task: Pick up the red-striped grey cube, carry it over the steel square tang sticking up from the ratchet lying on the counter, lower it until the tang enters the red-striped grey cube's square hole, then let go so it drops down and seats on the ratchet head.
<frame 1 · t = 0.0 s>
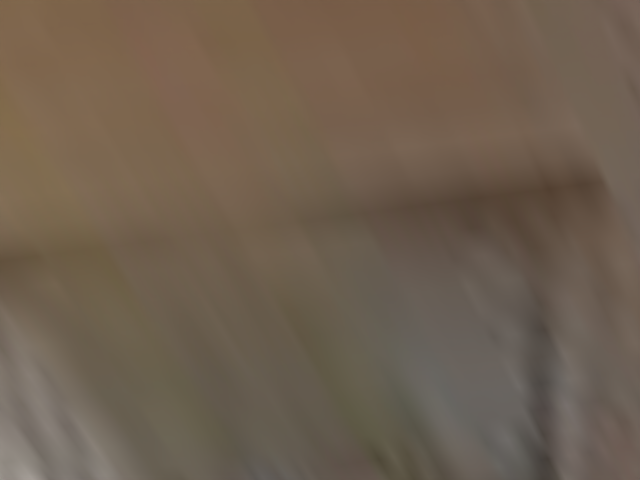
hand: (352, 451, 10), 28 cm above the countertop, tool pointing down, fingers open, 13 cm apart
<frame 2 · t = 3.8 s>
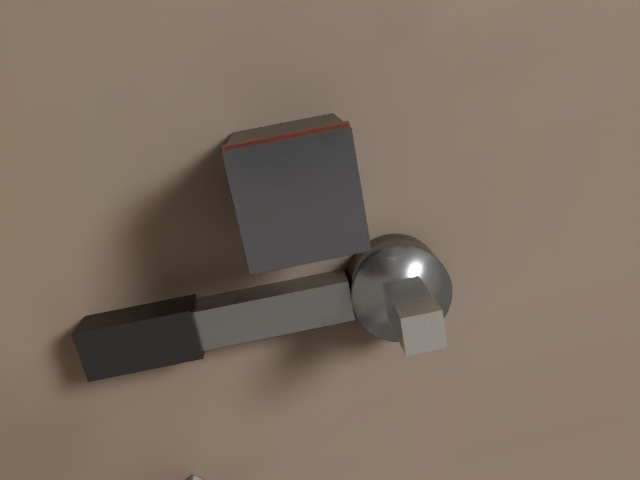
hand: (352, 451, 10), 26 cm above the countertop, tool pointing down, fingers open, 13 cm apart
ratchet: (392, 278, 38), on the countertop
red-striped grey cube: (292, 172, 35), on the countertop
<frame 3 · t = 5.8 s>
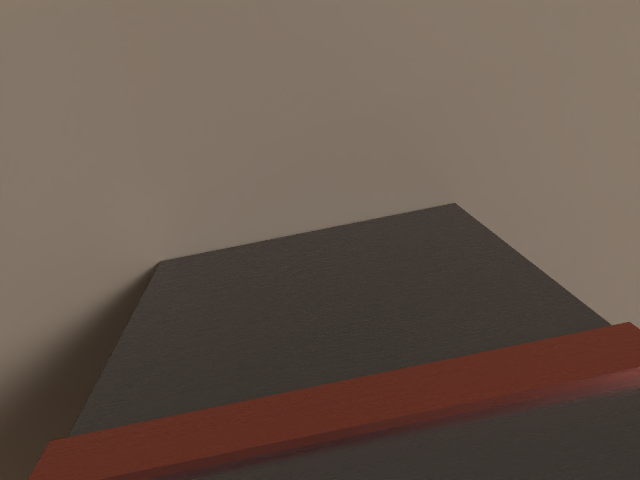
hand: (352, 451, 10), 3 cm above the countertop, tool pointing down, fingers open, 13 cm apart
red-striped grey cube: (334, 362, 13), on the countertop
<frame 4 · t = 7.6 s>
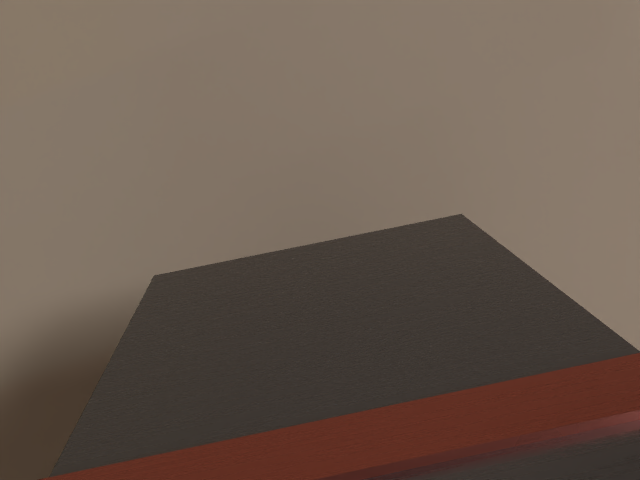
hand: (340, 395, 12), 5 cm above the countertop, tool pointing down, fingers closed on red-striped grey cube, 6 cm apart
red-striped grey cube: (335, 380, 12), point 4 cm above the countertop, touching gripper
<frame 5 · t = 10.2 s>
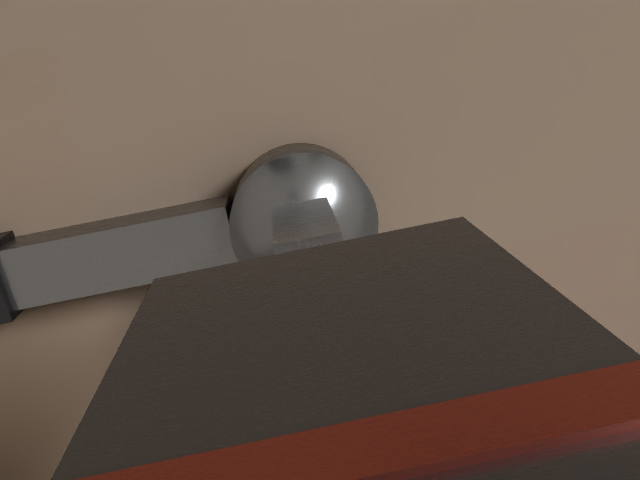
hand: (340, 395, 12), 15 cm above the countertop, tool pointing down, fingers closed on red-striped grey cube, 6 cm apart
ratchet: (300, 210, 26), on the countertop
red-striped grey cube: (336, 383, 12), point 15 cm above the countertop, touching gripper
when the fingers open (6 cm above the countertop, at t = 12.9 s): red-striped grey cube drops 3 cm, resting on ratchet.
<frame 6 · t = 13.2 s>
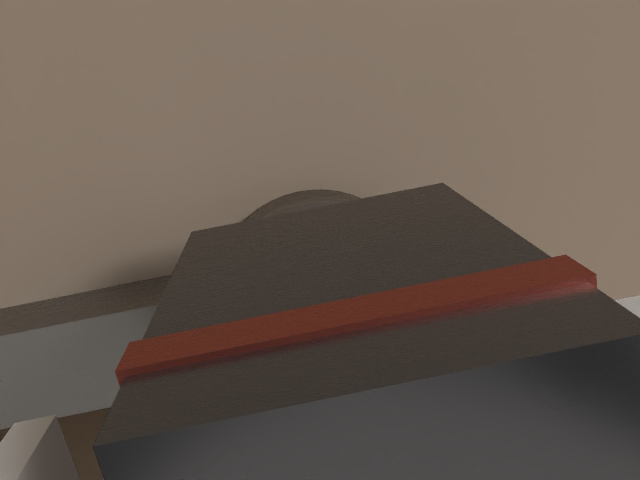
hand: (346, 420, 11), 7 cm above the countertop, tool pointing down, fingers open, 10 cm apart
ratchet: (317, 288, 17), on the countertop, touching red-striped grey cube
red-striped grey cube: (339, 321, 15), point 3 cm above the countertop, touching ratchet
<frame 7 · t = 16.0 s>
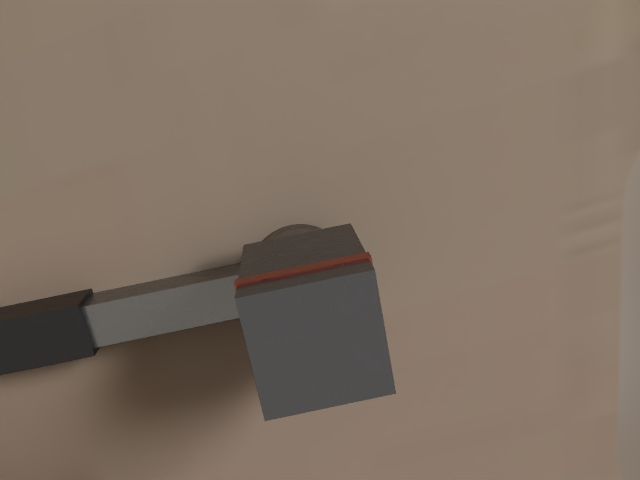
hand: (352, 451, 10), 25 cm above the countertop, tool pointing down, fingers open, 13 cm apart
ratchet: (299, 271, 36), on the countertop, touching red-striped grey cube
red-striped grey cube: (307, 284, 33), point 3 cm above the countertop, touching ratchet
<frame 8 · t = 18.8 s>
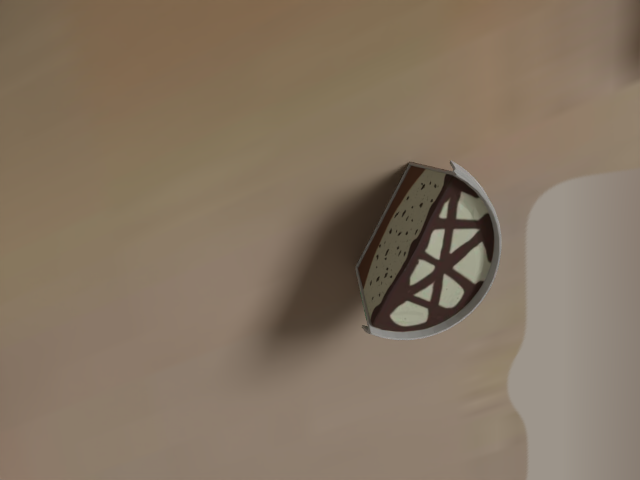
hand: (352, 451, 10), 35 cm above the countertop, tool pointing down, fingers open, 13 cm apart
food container: (415, 231, 46), on the countertop
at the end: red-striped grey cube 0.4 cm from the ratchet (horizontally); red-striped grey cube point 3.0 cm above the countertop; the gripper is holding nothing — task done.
